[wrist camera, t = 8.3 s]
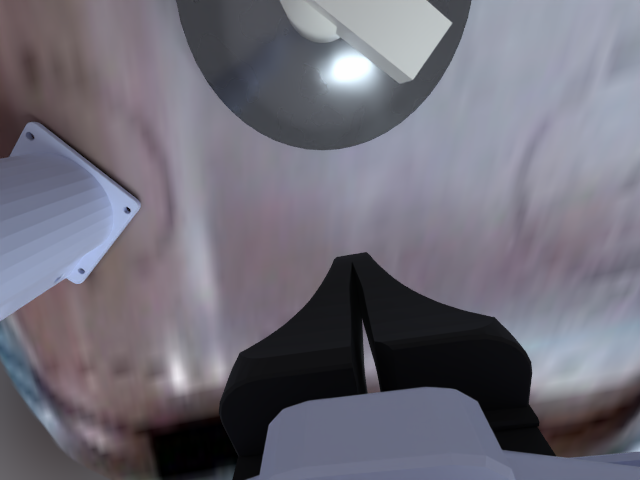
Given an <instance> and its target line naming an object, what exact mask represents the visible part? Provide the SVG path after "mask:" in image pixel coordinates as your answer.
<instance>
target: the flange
mask: <svg viewBox="0 0 640 480" xmlns="http://www.w3.org/2000/svg"><path fill="white" fill-rule="evenodd" d="M176 1H177V6H178V11H179V15H180V20H181V24H182V27H183V30H184V33H185V36H186V39H187V42H188V45H189V47H190V49H191V52H192V54H193V56H194V58H195V61H196V63H197V65H198V66H199V68H200V70H201V72H202V73H203V75H204V77H205V79H206V80H207V82H208V83H209V85H210V86H211V87H212V89H213V90H214V92H215V93H216V94H217V96H218V97H219V98H220V99H221V100H222V101H223V103H224V104H225V105H226V106H227V107H228V108H229V109H230V110H231V111H232V112H233V113H234V114H235V115H236V116H238V117H239V118H240V119H241V120H242V121H243V122H245V123H246V124H247V125H249V126H250V127H252V128H253V129H255V130H256V131H258V132H259V133H261V134H263V135H265V136H267V137H269V138H271V139H273V140H275V141H278V142H281V143H284V144H287V145H290V146H294V147H299V148H304V149H313V150H332V149H341V148H346V147H351V146H356V145H358V144H361V143H364V142H367V141H370V140H372V139H374V138H376V137H378V136H380V135H382V134H384V133H386V132H388V131H389V130H391V129H392V128H394V127H395V126H397V125H398V124H400V123H401V122H402V121H403V120H405V119H406V118H407V117H408V116H409V115H410V114H412V113H413V112H414V111H415V110H416V109H417V108H418V107H419V106H420V105H421V104H422V102H423V101H424V100H425V99H426V98H427V97H428V96H429V95H430V93H431V92H432V90H433V89H434V88H435V86H436V85H437V84H438V82H439V81H440V80H441V78H442V76H443V74H444V73H445V71H446V69H447V67H448V66H449V64H450V62H451V60H452V58H453V56H454V54H455V51H456V49H457V47H458V45H459V42H460V40H461V37H462V34H463V31H464V28H465V25H466V22H467V19H468V14H469V9H470V5H471V0H427V1H428V2H429V3H430V4H431V5H432V6H434V7H435V8H436V9H437V10H438V11H439V12H440V13H442V14H443V15H444V16H445V17H446V18H447V19H448V20H450V21H451V22H452V24H451V26H450V27H449V29H448V30H447V32H446V33H445V35H444V36H443V37H442V39H441V40H440V42H439V43H438V45H437V46H436V47H435V49H434V50H433V52H432V53H431V55H430V56H429V58H428V59H427V60H426V62H425V63H424V65H423V66H422V68H421V69H420V70H419V72H418V73H417V75H416V76H415V78H414V79H413V80H411V81H408V82H404V83H401V84H399V83H398V82H397V81H395V80H394V79H393V78H392V77H390V76H389V75H388V74H386V73H385V72H384V71H383V70H381V69H380V68H379V67H378V66H376V65H375V64H374V63H373V62H371V61H370V60H369V59H367V58H366V57H365V56H364V55H362V54H361V53H360V52H359V51H357V50H356V49H355V48H353V47H352V46H351V45H350V44H348V43H347V42H346V41H345V40H343V39H342V38H341V37H340V38H339V39H337V40H335V41H332V42H327V43H317V42H313V41H310V40H308V39H306V38H304V37H303V36H301V35H300V34H299V33H298V32H297V31H296V30H295V29H294V28H293V26H292V25H291V23H290V21H289V19H288V17H287V15H286V13H285V11H284V9H283V6H282V4H281V2H280V0H176Z"/></svg>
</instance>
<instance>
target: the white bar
mask: <svg viewBox="0 0 640 480" xmlns="http://www.w3.org/2000/svg"><path fill="white" fill-rule="evenodd" d="M280 2H281V4H282V6H283V9H284V11H285V13H286V15H287V17H288V19H289V21H290V23H291V25H292V26H293V28H294V29H295V30H296V31H297V32H298V33H299V34H300V35H301V36H303V37H304V38H306V39H308V40H310V41H313V42H317V43H327V42H332V41H335V40H337V39H339V38H340V37H341V38H342V39H343V40H345V41H346V42H347V43H348V44H350V45H351V46H352V47H353V48H355V49H356V50H357V51H359V52H360V53H361V54H362V55H364V56H365V57H366V58H367V59H369V60H370V61H371V62H373V63H374V64H375V65H376V66H378V67H379V68H380V69H381V70H383V71H384V72H385V73H386V74H388V75H389V76H390V77H392V78H393V79H394V80H395V81H397V82H398V83H399V84H401V83H404V82H408V81H411V80H413V79H414V78H415V76H416V75H417V73H418V72H419V70H420V69H421V68H422V66H423V65H424V63H425V62H426V60H427V59H428V58H429V56H430V55H431V53H432V52H433V50H434V49H435V47H436V46H437V45H438V43H439V42H440V40H441V39H442V37H443V36H444V35H445V33H446V32H447V30H448V29H449V27H450V26H451V24H452V22H451V21H450V20H448V19H447V18H446V17H445V16H444V15H443V14H442V13H440V12H439V11H438V10H437V9H436V8H435V7H434V6H432V5H431V4H430V3H429V2H428V1H427V0H280Z"/></svg>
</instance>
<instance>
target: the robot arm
mask: <svg viewBox="0 0 640 480" xmlns="http://www.w3.org/2000/svg"><path fill="white" fill-rule="evenodd" d="M31 133H32V134H33V135H34V139H33V137H32V135H31ZM127 207H128V208H130V210H131V212H129V211H128V210H127ZM140 207H141V204H140V202H139V201H138V199H136V198H135V197H134V196H133V195H131V194H130V193H129V192H127V191H126V190H125V189H124V188H122V187H121V186H120V185H118V184H117V183H116V182H115V181H113V180H112V179H111V178H109V177H108V176H107V175H106V174H104V173H103V172H102V171H101V170H99V169H98V168H97V167H95V166H94V165H93V164H92V163H90V162H89V161H88V160H86V159H85V158H84V157H83V156H81V155H80V154H79V153H78V152H76V151H75V150H74V149H72V148H71V147H70V146H69V145H67V144H66V143H65V142H63V141H62V140H61V139H60V138H58V137H57V136H56V135H54V134H53V133H52V132H51V131H49V130H48V129H47V128H46V127H44V126H43V125H42V124H40V123H38V122H29V123H27V124H26V126H25V128H24V130H23V132H22V133H21V135H20V137H19V139H18V141H17V143H16V145H15V147H14V148H13V150H12V152H11V154H10V156H9V157H7V158H1V159H0V321H1V320H3V319H4V318H6V317H7V316H9V315H10V314H12V313H13V312H15V311H16V310H18V309H19V308H21V307H22V306H24V305H25V304H27V303H29V302H30V301H32V300H33V299H35V298H36V297H38V296H39V295H41V294H42V293H44V292H45V291H47V290H48V289H50V288H51V287H53V286H54V285H56V284H57V283H59V282H60V281H62V280H63V279H65V278H67V279H68V280H70V281H72V282H73V283H75V284H80V283H82V282H83V281H84V280H85V279H86V278H87V277H88V275H89V274H90V273H91V271H92V270H93V269H94V267H95V266H96V265H97V264H98V262H99V261H100V260H101V258H102V257H103V256H104V254H105V253H106V252H107V251H108V249H109V248H110V247H111V245H112V244H113V243H114V242H115V240H116V239H117V238H118V236H119V235H120V234H121V232H122V231H123V230H124V229H125V227H126V226H127V225H128V223H129V222H130V221H131V219H132V218H133V217H134V216H135V214H136V213H137V212H138V210H139V209H140ZM82 269H83V270H84V271H83V270H82ZM362 320H363V323H364V327H365V330H366V334H367V337H368V341H369V344H370V348H371V352H372V355H373V359H374V362H375V366H376V370H377V374H378V380H379V385H380V391H381V392H377V393H369V394H368V393H367V386H366V379H365V369H364V351H363V329H362ZM531 378H532V366H531V361H530V359H529V357H528V355H527V353H526V351H525V350H524V349H523V348H522V346H521V345H520V344H519V343H518V341H517V340H516V339H515V338H514V337H513V336H512V335H511V333H510V332H509V331H508V330H507V329H506V328H505V327H504V326H503V325H502V324H501V323H500V322H499V321H498V320H497V319H496V318H495V317H490V316H486V315H481V314H477V313H472V312H468V311H464V310H460V309H457V308H454V307H451V306H448V305H445V304H442V303H439V302H437V301H434V300H432V299H430V298H427V297H425V296H423V295H421V294H419V293H417V292H415V291H413V290H411V289H410V288H408V287H406V286H404V285H403V284H401V283H400V282H399V281H397V280H396V279H394V278H393V277H392V276H391V275H389V274H388V273H387V272H386V271H385V270H384V269H383V268H381V267H380V266H379V265H378V264H377V263H376V262H375V261H374V260H373V258H372V257H371V256H370V255H369V254H368V253H367V252H365V253H359V254H353V255H347V256H341V257H336V258H335V259H334V261H333V264H332V266H331V268H330V270H329V272H328V274H327V275H326V277H325V279H324V281H323V282H322V284H321V285H320V287H319V288H318V290H317V291H316V293H315V294H314V295H313V297H312V298H311V299H310V301H309V302H308V303H307V304H306V305H305V306H304V307H303V308H302V309H301V310H300V311H299V312H298V313H297V314H296V315H295V316H294V317H293V318H291V319H290V320H289V321H288V322H287V323H286V324H285V325H283V326H282V327H281V328H279V329H278V330H277V331H275V332H274V333H272V334H271V335H269V336H268V337H266V338H265V339H263V340H262V341H260V342H258V343H256V344H255V345H253V346H251V347H250V348H248V349H246V350H244V351H242V352H240V354H239V356H238V358H237V360H236V362H235V364H234V366H233V368H232V371H231V373H230V376H229V378H228V381H227V384H226V387H225V389H224V392H223V395H222V398H221V401H220V406H219V415H220V418H221V421H222V424H223V426H224V428H225V430H226V432H227V434H228V436H229V438H230V440H231V442H232V444H233V446H234V448H235V450H236V452H237V454H238V460H237V464H236V468H235V472H234V476H233V480H640V452H630V453H619V454H608V455H597V456H586V457H574V458H563V457H556V455H555V454H554V452H553V450H552V449H551V447H550V446H549V444H548V443H547V441H546V440H545V438H544V437H543V435H542V434H541V432H540V430H539V429H538V427H537V426H539V420H538V417H537V416H536V414H535V413H534V411H533V410H532V408H531V407H530V405H529V396H530V387H531Z"/></svg>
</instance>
